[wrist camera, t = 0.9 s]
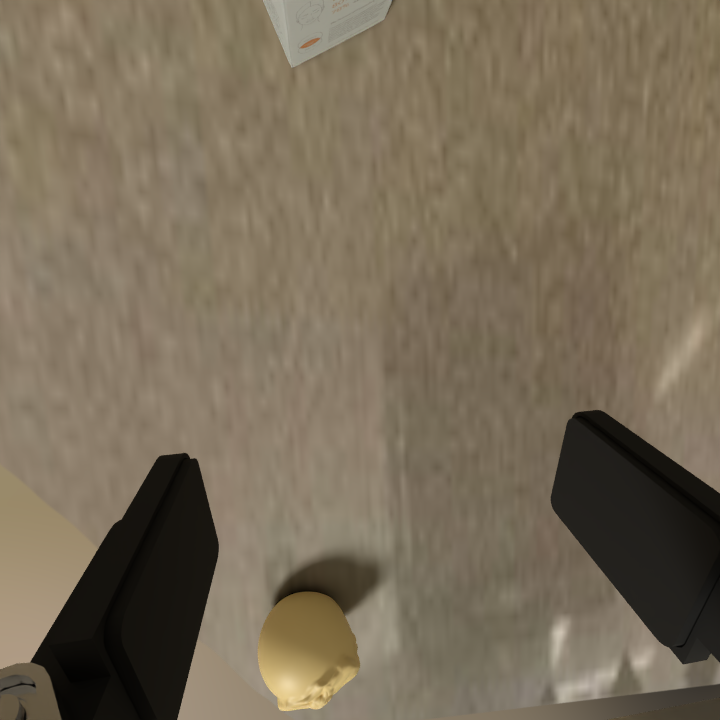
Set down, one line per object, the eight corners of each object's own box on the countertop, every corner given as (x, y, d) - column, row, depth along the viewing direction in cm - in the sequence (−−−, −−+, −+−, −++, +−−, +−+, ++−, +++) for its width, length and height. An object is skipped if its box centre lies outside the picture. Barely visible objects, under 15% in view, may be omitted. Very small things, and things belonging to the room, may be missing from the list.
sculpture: (302, 645, 55) (302, 742, 45) (245, 609, 51) (230, 708, 41) (363, 607, 54) (377, 697, 44) (310, 566, 49) (311, 657, 39)
